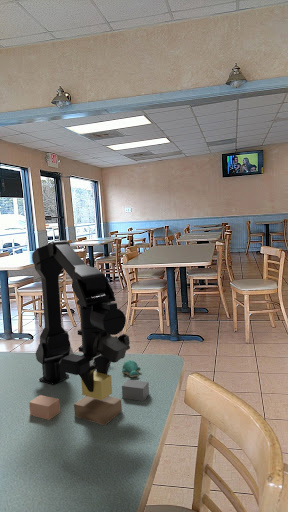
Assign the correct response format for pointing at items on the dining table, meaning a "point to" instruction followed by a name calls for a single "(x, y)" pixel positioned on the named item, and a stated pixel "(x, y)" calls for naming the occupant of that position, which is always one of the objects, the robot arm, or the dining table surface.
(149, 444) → the dining table surface
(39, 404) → the terracotta brick
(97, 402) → the walnut block
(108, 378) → the mustard brick
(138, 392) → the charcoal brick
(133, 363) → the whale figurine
